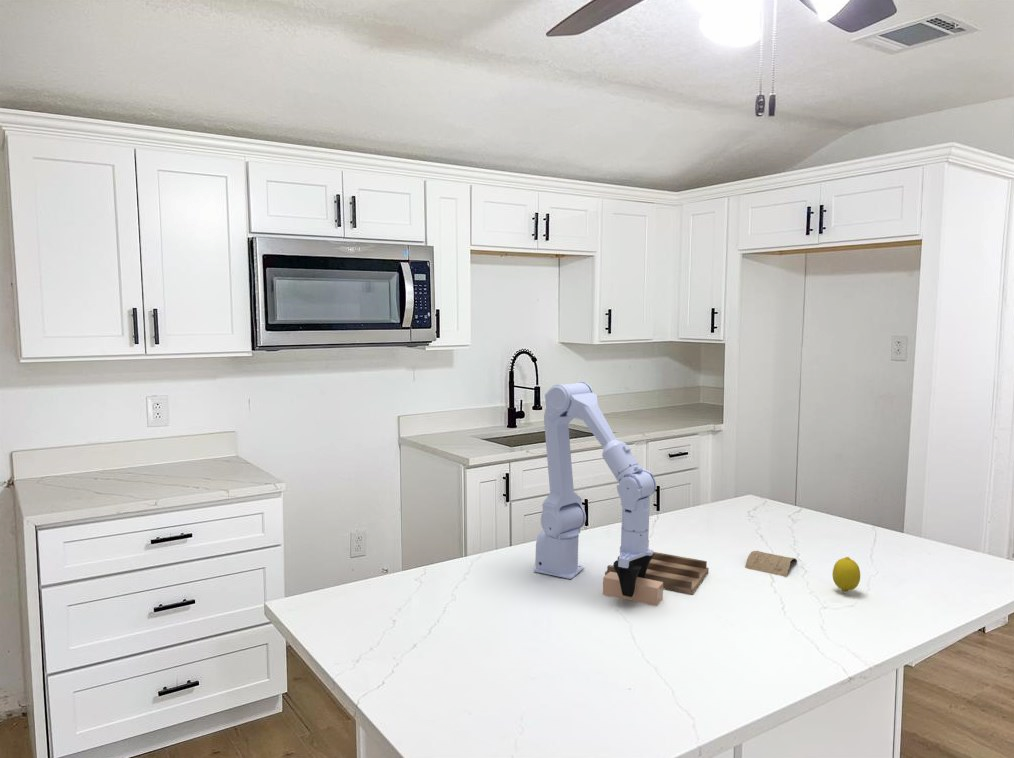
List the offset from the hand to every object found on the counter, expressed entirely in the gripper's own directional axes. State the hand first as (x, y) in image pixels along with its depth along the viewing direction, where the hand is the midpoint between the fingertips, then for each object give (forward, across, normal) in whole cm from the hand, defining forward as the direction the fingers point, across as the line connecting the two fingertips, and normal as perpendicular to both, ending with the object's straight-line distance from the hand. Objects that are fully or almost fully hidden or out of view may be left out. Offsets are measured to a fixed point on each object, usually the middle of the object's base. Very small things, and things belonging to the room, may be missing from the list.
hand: (632, 590), depth 160 cm
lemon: (+2, +26, -40) cm, 48 cm away
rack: (+1, +15, -1) cm, 15 cm away
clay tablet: (+2, +36, -23) cm, 43 cm away
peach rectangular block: (+2, 0, 0) cm, 2 cm away
